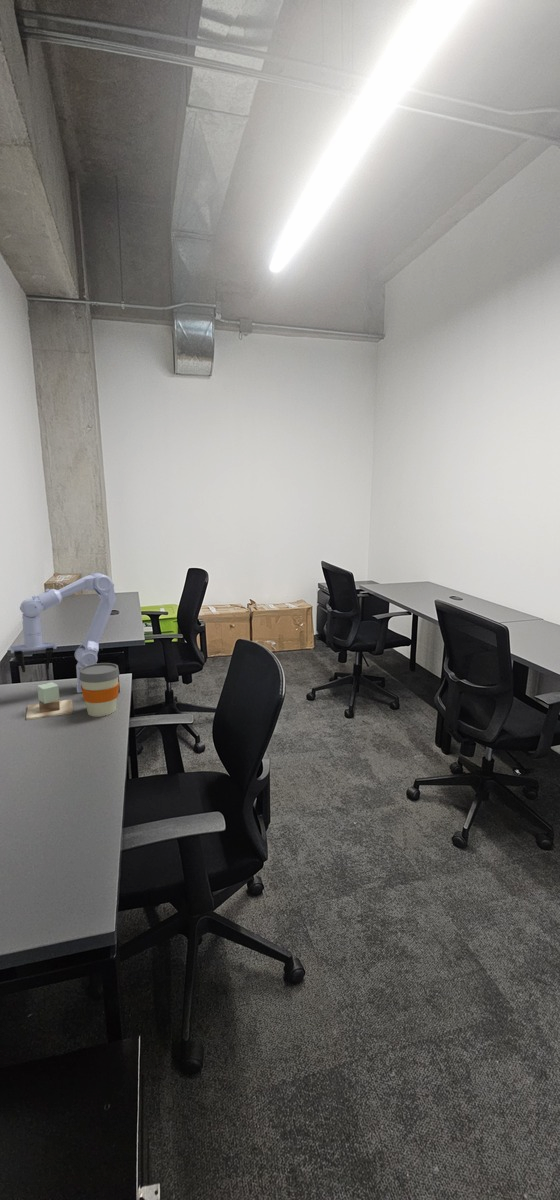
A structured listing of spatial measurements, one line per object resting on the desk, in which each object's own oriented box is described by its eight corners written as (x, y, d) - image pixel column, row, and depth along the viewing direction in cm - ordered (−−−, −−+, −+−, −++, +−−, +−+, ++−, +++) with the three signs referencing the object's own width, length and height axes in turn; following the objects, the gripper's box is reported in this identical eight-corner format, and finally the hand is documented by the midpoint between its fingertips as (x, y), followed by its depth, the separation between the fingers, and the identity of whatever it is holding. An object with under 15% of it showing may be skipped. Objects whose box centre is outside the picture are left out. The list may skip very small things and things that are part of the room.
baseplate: (71, 700, 179) (71, 691, 178) (72, 713, 168) (72, 702, 167) (28, 706, 173) (27, 696, 172) (26, 720, 162) (25, 709, 162)
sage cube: (53, 695, 173) (52, 682, 173) (59, 699, 170) (58, 685, 169) (38, 699, 170) (37, 685, 169) (44, 703, 166) (43, 689, 166)
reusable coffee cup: (96, 722, 161) (93, 677, 158) (74, 712, 168) (71, 669, 166) (129, 709, 171) (126, 667, 168) (107, 701, 178) (104, 660, 176)
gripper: (55, 628, 184) (58, 664, 186) (10, 632, 178) (13, 669, 180) (55, 633, 177) (58, 669, 180) (8, 637, 172) (12, 675, 174)
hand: (35, 670), depth 180 cm, fingers open, 7 cm apart
